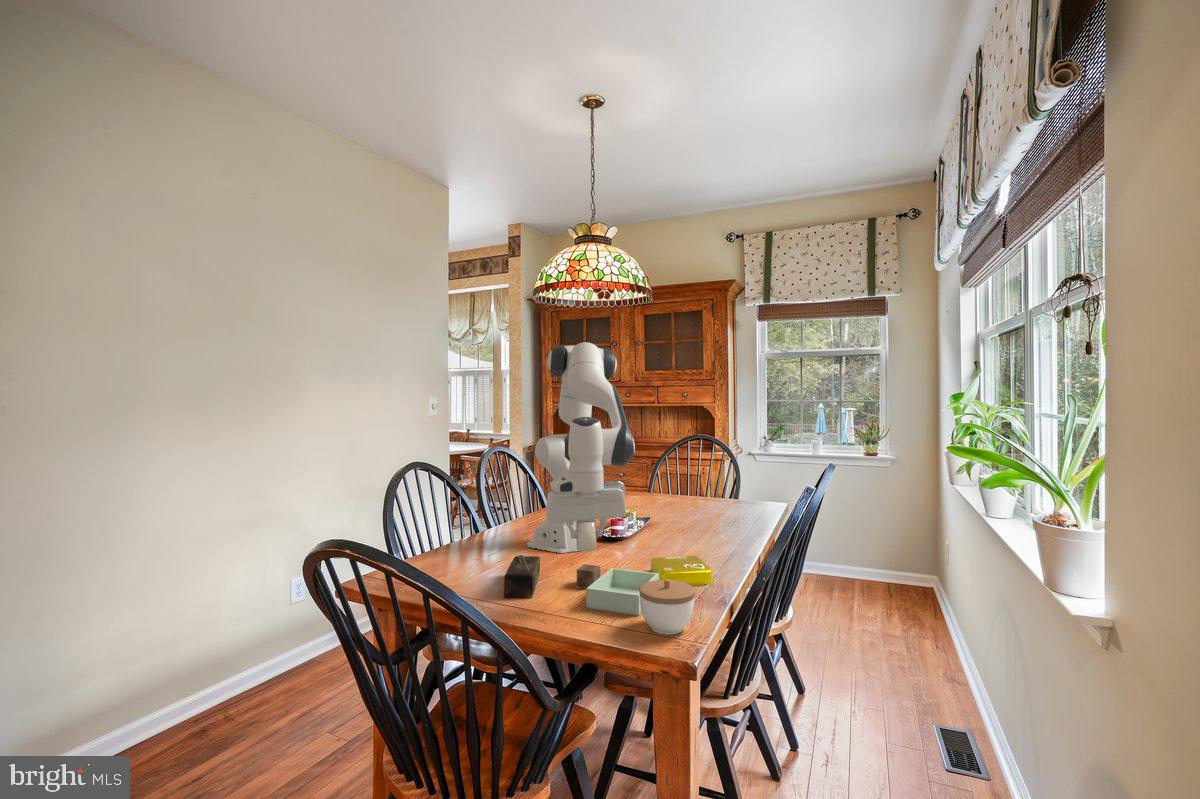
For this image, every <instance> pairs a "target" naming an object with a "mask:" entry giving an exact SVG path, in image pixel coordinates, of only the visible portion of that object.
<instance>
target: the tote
mask: <svg viewBox="0 0 1200 799" xmlns="http://www.w3.org/2000/svg"><path fill="white" fill-rule="evenodd" d="M655 580H659V574H658V573H651V571H641V570H640V571H639V570H634V569H633V570H632V569H626V568H625V569H624V568H616V567H611V568H610V569H608V570H607V571H606V572H605V573H604V574H602V575H600V578H599V579H597V580H596V581H595V582H594V583H593V584H591V585H590V586H589V587H588V588H586V609H588V608H589V610H595V609H596V611H603V612H608V611H609V613H615V614H616V613H617V614H622V615H629V616H635V617H639V616H640V615H642V611H641V605H640V593H639V588H640V586H641V585H642V584H644V583H646V582H650V581H655Z"/></svg>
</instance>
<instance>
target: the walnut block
mask: <svg viewBox="0 0 1200 799" xmlns="http://www.w3.org/2000/svg"><path fill="white" fill-rule="evenodd" d="M600 577H601V565H594V564H585V563H584V564H582V565H580V566H579V567H578V568H577V569H576V587H577V586H578V587H577V588H580V587H585V588H584V589H587V588H588V587H589V586H590V585H591V584H593V583H594V582H595V581H596V580H597V579H599V578H600Z"/></svg>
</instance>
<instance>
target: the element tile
mask: <svg viewBox="0 0 1200 799" xmlns="http://www.w3.org/2000/svg"><path fill="white" fill-rule="evenodd" d="M650 573H658V574H659V580H666V579H668V580H675V581H680V582H684V583H687V584H689V585H695V586H705V585H704V584H709V585H712V584H711V583H713V569H712V568H711V567H710V566H709V565H708V564H707V563H706V562H705V561H704V560H703V559H701V558H700V557H699V556H698V555H686V556H685V555H684V556H683V555H682V556H680V555H679V556H662V557H652V558H651V559H650Z"/></svg>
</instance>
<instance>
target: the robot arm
mask: <svg viewBox="0 0 1200 799" xmlns="http://www.w3.org/2000/svg"><path fill="white" fill-rule="evenodd" d="M546 361H547V368H548V370H549V374H550V375H551V376H553V377H555V378H559V379H562V382H561V388H560V394H559V395H560V396H559V403H558V404H559V405H558V416H559V418H560V420H561V421H562V422H564V423H565V424H567V425H568V426H569V432H568V433H563V434H562V433H560V434H551V435H546V436H543V437H540V438H539V440H538V441H537V443H536V444H535V449H534V454H535V458H536V460H537V462H538V463H539V464H540V465H541V466H543V468H545V469H546V471H548V473H549V474H550V476H551V478H552V481H551V482H550V489H551V491H550V492H549V493H548V495H547V497H546V506H545V517H546V519H545V520H544V521H542V522H541V523H539V524H538V525H537V526H536V528H535V530H534V534H533V538H531V539H530V540H529V541H528V542H527V543H526V547H527V548H530V547H531V549H535V548H537V549H536V550H540V549H541V550H540V551H545V550H546V551H547V552H552V553H556V552H557V554H565V553H571V552H580V551H579V550H577V549H576V538H578V536H577V535H578V531H576V521H578V520H592V519H594V520H598V521H599V524H598V528H597V527H596V538H598V537H603V530H604V529H605V527H606V525H607V524H608V522H607V519H619V518H624V516H625V515H626V514H627V513H626V512H627V509H626V500H625V495H626V485H625V484H624V483H623V482H621V481H620V480H613V481H612V480H611V481H610V480H604V479H605V477H604V476H605V475H604V472H605V470H604V466H614V467H615V466H616V467H624V466H626V465H627V464H629V463H630V462H631V461H632V460H633V459H634V457H635V451H636V444H635V440H634V437H633V434H632V432H631V429H630V427H629V426H630V425H629V424H628V421H627V417H626V412H625V410H624V407H623V402H622V400H621V396H620V393H619V391H618V389H617V387H616V385H614V384H612V383H610V382H609V380H611V379H612V378H614V375H615V374H616V372H617V367H618V362H617V361H618V360H617V358H616V354H615V352H614V350H612V349H608V348H600V347H598V346H597V345H596V344H594V343H592V342H587V341H586V342H585V341H584V342H580V343H577V344H576V345H564V344H559V345H554V346H553V347H552V348H551V350H550V352H549V353H548V356H547V360H546ZM593 406H594V407H597V408H599V409H601V410H604V411H605V412H607V414H608V416H609V419H610V423H611V427H612V428H602V424H601V420H600V419H599V418H595V417H592V411H593V410H592V408H593Z"/></svg>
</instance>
